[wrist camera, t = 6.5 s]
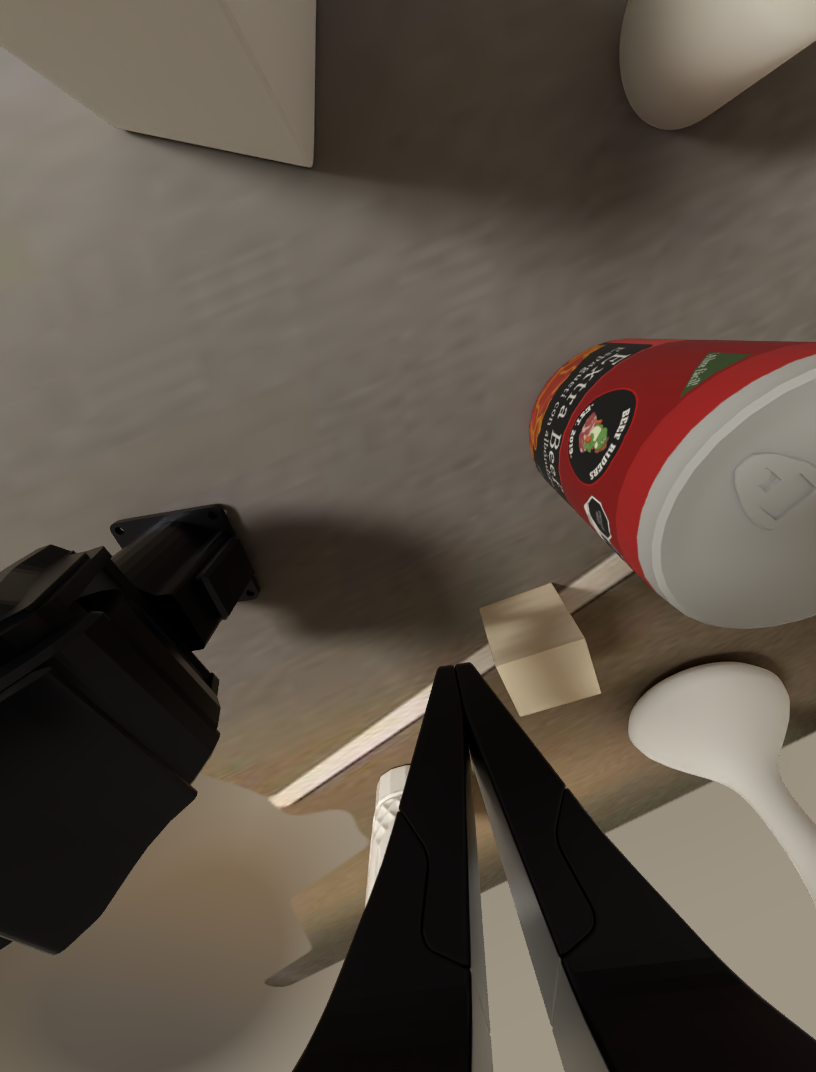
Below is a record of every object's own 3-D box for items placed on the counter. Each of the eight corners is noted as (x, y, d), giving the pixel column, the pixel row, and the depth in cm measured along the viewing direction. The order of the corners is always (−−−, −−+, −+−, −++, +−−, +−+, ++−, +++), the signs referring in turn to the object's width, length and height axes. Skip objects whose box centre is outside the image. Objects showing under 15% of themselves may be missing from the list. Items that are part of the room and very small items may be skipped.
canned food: (566, 314, 16) (804, 289, 7) (714, 367, 18) (1094, 410, 8) (499, 472, 20) (592, 602, 10) (626, 507, 21) (815, 652, 12)
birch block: (500, 654, 27) (520, 716, 23) (478, 607, 25) (495, 666, 20) (567, 632, 26) (601, 693, 22) (550, 581, 24) (584, 638, 19)
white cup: (407, 749, 32) (410, 902, 24) (469, 778, 35) (493, 926, 26) (355, 787, 35) (341, 936, 27) (416, 811, 38) (422, 954, 29)
